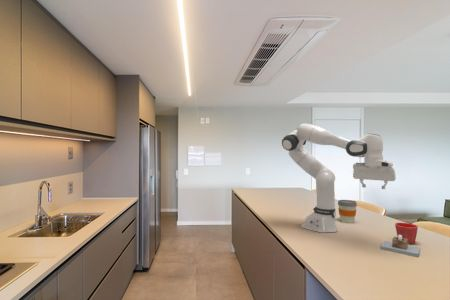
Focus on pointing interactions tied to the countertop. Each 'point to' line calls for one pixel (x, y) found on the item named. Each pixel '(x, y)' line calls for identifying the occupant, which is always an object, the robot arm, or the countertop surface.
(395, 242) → the collar
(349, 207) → the reusable coffee cup
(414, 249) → the post block
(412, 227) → the flower pot
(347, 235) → the countertop surface
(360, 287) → the countertop surface
